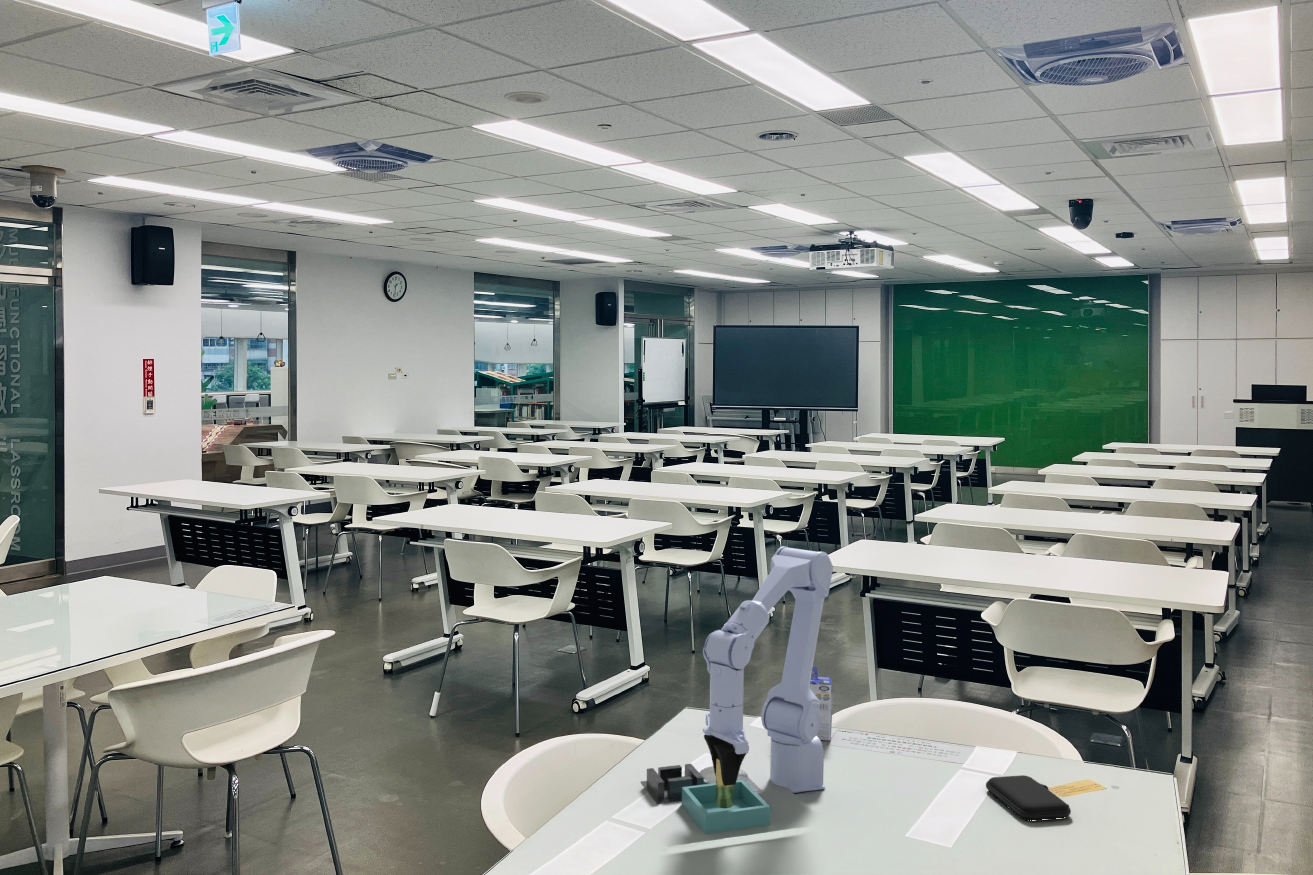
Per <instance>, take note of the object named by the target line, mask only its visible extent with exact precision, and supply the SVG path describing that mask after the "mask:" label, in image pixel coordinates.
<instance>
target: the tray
mask: <svg viewBox="0 0 1313 875" xmlns="http://www.w3.org/2000/svg"><path fill="white" fill-rule="evenodd" d="M681 805H682V806H683V807H684V809H685V810H686V811H687V814H689V815H690V816H691V818H692V819H693V820H694V822H695V823H696V824H697V826H698V827H699V828H700V829H701V830H702V831H703V832H704V834H705V835H706V834H707V835H708V834H713V833H719V832H720V833H721V832H727V831H735V830H741V829H748V828H756V827H762V826H769V825H771V806H770V805H769V804H768V802H766V800H764V799H763V797H761V796H760V795H759V794H758V792H757V791H756V792H755V791H754V790H753V789H752V788H751V787H750V786H749V785H748V784H747V783H746V782H745V781H744V780H737V781H736V784H735V785H734V787H733V806H732V807H731V808H726V809H725V808H719V807H717V806H716V783H712V784H704V785H696V786H688V787H682V801H681Z"/></svg>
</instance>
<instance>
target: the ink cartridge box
mask: <svg viewBox="0 0 1313 875" xmlns="http://www.w3.org/2000/svg"><path fill="white" fill-rule="evenodd" d="M812 672H814V673H811V679H810V685H809V688H810V690H811V691H812V692H813V693H814V695H815V696H816V697H817V698H818V699H819V701H820V728H819V731H818V733H817V735H816V736H817V737H818V738H819V739H820V741H831V740H832V724H833V723H832V721H833V681H832V677H828V676H827V677H825V676H819V675H818V667H816V666H813V667H812ZM784 700H786V701H789V702H793V703H797V704H801V703H799V702H797V701H793V700H789V699H784Z"/></svg>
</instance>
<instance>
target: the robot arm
mask: <svg viewBox="0 0 1313 875" xmlns="http://www.w3.org/2000/svg"><path fill="white" fill-rule="evenodd" d="M833 569H834V566H833V564H832V561H831V558H830V556H829V554H828V553H827V552H825V551H815V550H814V551H813V550H807V549H800V548H793V547H788V546H785V545H783V546H780V547H778V549H776V551H775V553H774V554H773V556H772V557H771V559H770V572H769V573H768V574H767V576H766V578H765V579H764V580H763V583H762V584H761V586H760V588H759V589H758V590H757V592H756V594H755V596H754V597H753V598H752V600H743V601H742V602H741V603H740V605H739V606H738V608H736V610H735V611H734V613H732V614H731V616H730V617H729V618H728V620H727V622H726V623H725V624H724V625H723V626H722V627H721V629H716V630H714V631H713V632H711V633H709V635H708V636H707V637H706V639H705V642H704V646H703V648H702V655H703V659H704V660H705V662H706V671H707V672H708V674H709V713H706V714H705V726H706V727H703V728H702V733H703V734H704V735H703V739H704V740H705V742H706V744H707V747H708V750H709V754H710V756H711V761H712V766H713V767H714V772H715V775H716V758H717V757H719V761H720V766H721V776H722V782H723V784H724V786H727V785H735V784H736V781H737V777H738V774H739V770H740V769H741V766H742V763H743V761H744V760H745V757H746V755H747V754H749V751H750V750H749V749H750V747H749V741H748V740H747V738H746V732H745V727H744V690H745V689H744V686H745V684H744V683H745V682H744V681H745V680H744V677H745V676H744V675H745V674H744V673H745V667H746V666H747V665H748V664H749V662H750V661H751V657H752V653H753V649H754V648H755V642H756V640H757V638H758V637H759V636H760V635H761V633H762V632H763V630H764V629H765V628H766V627H767V625H768V624H769V622H770V616H769V612H770V611H771V610H772V609H773V607H775V606H776V604H777V603H778V602H779V601H780V599H782V597H784V596H785V594H786V593H787V592H791V594H792V596H793V597H794V599H795V602H794V608H793V614H792V620H791V623H790V631H789V637H788V643H787V646H786V647H787V649H786V654H785V660H784V666H783V671H782V676H781V682H780V683H779V684H777V685H775V686H774V687H772V688H770V689H769V690H768V693H767V699H765V703H764V705H763V707H762V709H761V714H760V717H761V718H760V719H761V723H762V726H763V729H764V730H766V731H767V734H766V735H767V736H768V737H769V738H770V759H769V760H770V761H769V762H770V764H769V767H770V768H769V770H770V771H769V779H770V782H771V783H772V784H774V785H776V786H779V787H783V788H786V789H788V790H789V791H790V792H791V793H793V794H796V793H803V792H811V791H819V790H825V789H826V786H825V785H824V770H825V769H824V766H825V764H824V761H825V759H824V758H825V757H824V756H825V754H824V753H825V752H824V748H823V743H822V740H820V739H819V738H818V737H817V736H816V735H817V733H818V731H819V728H820V701H819V699H818V698H817V697H816V696H815V695H814V693H813V692H812V691H811V690H810V688H809V685H810V679H811V674H813V673H812V672H813V671H812V667H814V666H813V665H814V660H815V655H816V650H817V649H816V648H817V644H818V638H819V637H818V636H819V631H820V625H821V620H822V619H821V618H822V614H823V608H824V602H825V598H827V597H829V594H830V587H831V582H832V577H833V571H834V570H833ZM785 699H789V700H793V701H797V702H799V703H801V704H797V703H793V702H789V701H786V700H785Z"/></svg>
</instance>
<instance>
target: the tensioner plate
mask: <svg viewBox="0 0 1313 875" xmlns="http://www.w3.org/2000/svg"><path fill="white" fill-rule="evenodd" d="M737 780H744V781H745V782H746V783H747V784H748V785H749V786H750V787H751V788H752V789H753V790H754V791H755V792H756V793H757V792H761V791H763V790H762V789H761V788H760V787H759V786H758V785H757V784H756V783H755V782H754V781H753V780H752V779H751V778H750V777H749V776H748V773H747V772H746V771H745V770H743V769H741V768H740V770H739V774H738V777H737ZM712 783H716V775H715V772H714V767H713V765H711V766H708V767H705V768H703V769H701V770H700V771H698V769H697V768H695V766H694V765H693V764H692V763H685V764H684V775H683V767H682V766H681V765H680V764H678V765H668V766H660V767H658V768H657V771H656V770H655V769H654V768H653V767H650V768H646V780H642V781H640V784H641V785H642V786H643V788H644V789H645V790H646V792H647V793H648V794H649V796H650V797H651V798H652V800H653V801H654V802H655V804H656V805H661V804H662V805H663V804H669V803H676V802H677V803H678V802H682V787H688V786H696V785H704V784H712Z"/></svg>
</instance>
